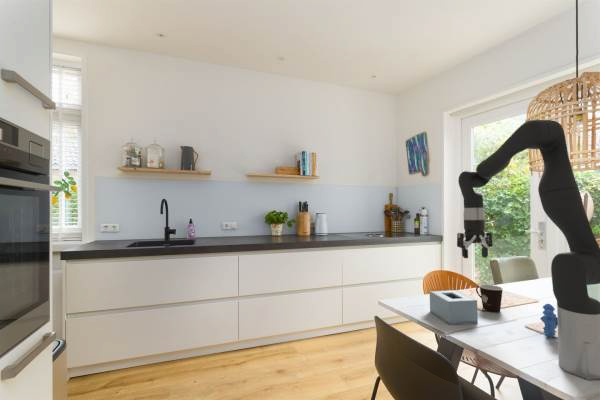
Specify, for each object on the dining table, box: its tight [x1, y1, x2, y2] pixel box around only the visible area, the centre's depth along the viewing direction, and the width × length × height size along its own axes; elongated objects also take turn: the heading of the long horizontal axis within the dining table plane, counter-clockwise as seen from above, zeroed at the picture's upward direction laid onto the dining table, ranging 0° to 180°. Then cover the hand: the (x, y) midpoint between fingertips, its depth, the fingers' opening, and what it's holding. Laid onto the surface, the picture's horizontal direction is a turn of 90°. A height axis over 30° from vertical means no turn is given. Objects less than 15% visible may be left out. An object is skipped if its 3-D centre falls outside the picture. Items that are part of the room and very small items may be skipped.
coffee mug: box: [475, 284, 503, 314], centre depth 132 cm, size 12×9×10 cm
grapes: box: [540, 303, 558, 338], centre depth 103 cm, size 12×7×12 cm, turn 142°
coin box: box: [429, 289, 479, 325], centre depth 123 cm, size 14×12×9 cm
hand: (475, 257), depth 123 cm, fingers open, 8 cm apart
